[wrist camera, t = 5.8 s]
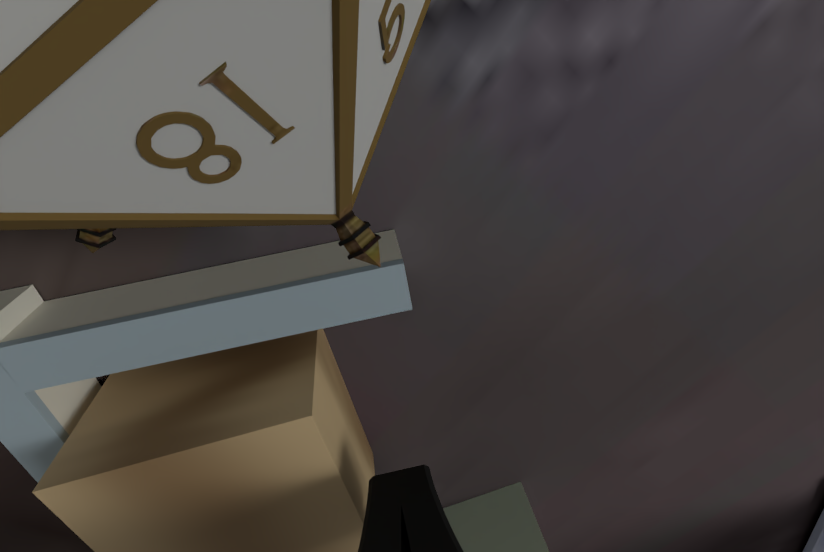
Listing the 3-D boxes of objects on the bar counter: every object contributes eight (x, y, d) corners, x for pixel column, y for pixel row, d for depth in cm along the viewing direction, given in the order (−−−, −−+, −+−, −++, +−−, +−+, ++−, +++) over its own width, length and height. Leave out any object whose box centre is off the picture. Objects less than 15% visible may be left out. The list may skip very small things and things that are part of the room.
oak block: (318, 312, 13) (311, 415, 9) (372, 447, 16) (382, 564, 12) (114, 367, 13) (31, 492, 9) (207, 493, 16) (171, 623, 12)
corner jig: (390, 211, 11) (399, 244, 10) (467, 602, 21) (478, 654, 19) (-19, 294, 11) (-87, 345, 9) (253, 655, 21) (245, 713, 19)
